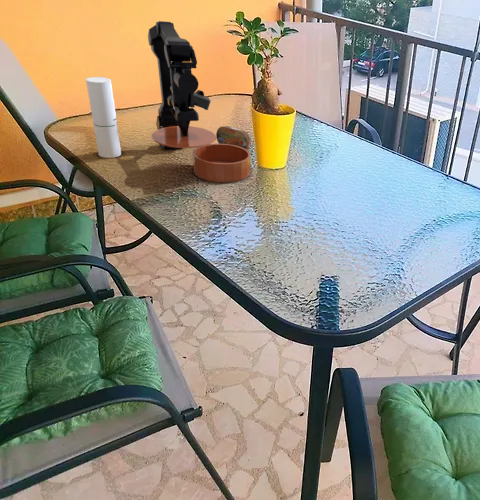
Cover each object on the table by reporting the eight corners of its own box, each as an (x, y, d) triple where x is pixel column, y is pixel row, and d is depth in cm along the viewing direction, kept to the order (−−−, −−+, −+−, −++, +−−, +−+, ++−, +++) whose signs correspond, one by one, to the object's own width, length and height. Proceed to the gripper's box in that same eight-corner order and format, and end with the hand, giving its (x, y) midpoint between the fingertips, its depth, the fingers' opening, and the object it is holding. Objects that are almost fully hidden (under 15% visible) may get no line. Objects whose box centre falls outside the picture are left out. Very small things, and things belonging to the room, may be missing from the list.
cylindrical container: (125, 152, 164) (115, 79, 151) (114, 158, 158) (103, 83, 145) (105, 149, 165) (94, 75, 152) (94, 155, 158) (81, 80, 145)
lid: (147, 129, 154) (146, 114, 152) (208, 128, 163) (207, 113, 160) (156, 151, 140) (155, 135, 137) (222, 148, 149) (222, 132, 146)
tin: (215, 145, 181) (215, 124, 176) (221, 143, 183) (220, 122, 179) (246, 155, 176) (247, 134, 171) (252, 153, 178) (252, 132, 174)
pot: (189, 162, 164) (188, 144, 160) (242, 159, 172) (242, 142, 168) (200, 184, 150) (199, 165, 146) (256, 180, 158) (257, 162, 155)
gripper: (214, 93, 139) (216, 143, 147) (201, 77, 153) (203, 124, 161) (175, 93, 134) (179, 144, 142) (165, 77, 148) (169, 125, 156)
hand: (184, 134), depth 151 cm, fingers closed on lid, 3 cm apart
